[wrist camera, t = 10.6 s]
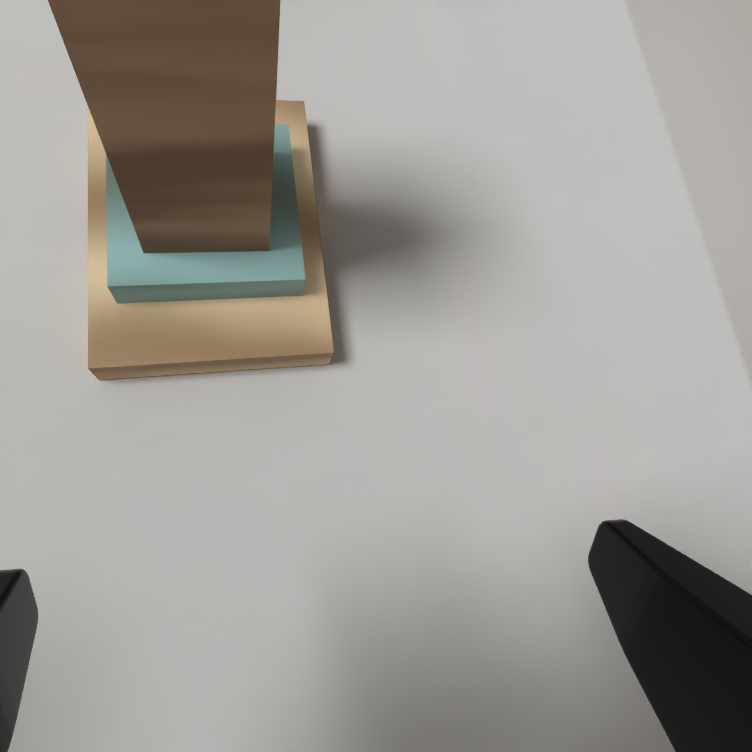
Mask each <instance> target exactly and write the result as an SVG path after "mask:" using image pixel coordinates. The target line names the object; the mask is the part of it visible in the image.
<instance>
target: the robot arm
mask: <svg viewBox="0 0 752 752" xmlns="http://www.w3.org/2000/svg"><path fill="white" fill-rule="evenodd" d="M588 563H589V568H590V571H591V574H592V576H593V578H594V581H595V583H596V586H597V588H598V591H599V593H600V596H601V598H602V601H603V603H604V605H605V608H606V610H607V613H608V615H609V618H610V620H611V623H612V625H613V628H614V630H615V632H616V635H617V637H618V640H619V642H620V644H621V646H622V649H623V651H624V653H625V655H626V657H627V659H628V661H629V663H630V665H631V667H632V669H633V671H634V673H635V675H636V677H637V679H638V681H639V683H640V685H641V686H642V688H643V690H644V692H645V694H646V696H647V698H648V700H649V702H650V704H651V706H652V708H653V709H654V711H655V713H656V715H657V717H658V719H659V721H660V723H661V725H662V727H663V729H664V730H665V732H666V734H667V736H668V738H669V740H670V742H671V744H672V746H673V748H674V750H675V751H676V752H752V595H751V594H749V593H748V592H746V591H744V590H743V589H741V588H739V587H738V586H736V585H734V584H733V583H731V582H729V581H728V580H726V579H724V578H723V577H721V576H719V575H718V574H716V573H714V572H713V571H711V570H709V569H707V568H706V567H704V566H702V565H701V564H699V563H697V562H696V561H694V560H692V559H691V558H689V557H687V556H686V555H684V554H682V553H681V552H679V551H677V550H676V549H674V548H672V547H671V546H669V545H667V544H666V543H664V542H662V541H661V540H659V539H657V538H656V537H654V536H652V535H651V534H649V533H647V532H646V531H644V530H642V529H641V528H639V527H637V526H636V525H634V524H632V523H631V522H629V521H627V520H622V519H620V520H607V521H603V522H602V523H601V524H600V525H599V527H598V529H597V532H596V535H595V538H594V541H593V544H592V546H591V549H590V552H589V557H588ZM37 623H38V608H37V604H36V601H35V597H34V594H33V590H32V587H31V583H30V579H29V576H28V574H27V572H26V571H25V570H23V569H12V570H0V752H8V749H9V746H10V743H11V739H12V736H13V732H14V728H15V724H16V719H17V715H18V711H19V706H20V701H21V697H22V692H23V688H24V683H25V679H26V674H27V670H28V665H29V660H30V656H31V651H32V647H33V642H34V638H35V633H36V629H37Z"/></svg>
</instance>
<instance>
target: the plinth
mask: <svg viewBox="0 0 752 752" xmlns="http://www.w3.org/2000/svg"><path fill="white" fill-rule="evenodd" d="M333 354H334V349H333V340H332V332H331V323H330V315H329V307H328V298H327V290H326V281H325V273H324V265H323V256H322V248H321V239H320V231H319V222H318V214H317V206H316V197H315V189H314V180H313V172H312V164H311V155H310V147H309V138H308V130H307V122H306V113H305V105H304V101H282V100H276V108H275V131H274V154H273V177H272V200H271V223H270V246H269V251H255V252H194V253H143V250H142V248H141V245H140V242H139V240H138V237H137V234H136V232H135V229H134V226H133V224H132V221H131V218H130V216H129V213H128V211H127V208H126V205H125V203H124V200H123V197H122V195H121V192H120V189H119V187H118V184H117V181H116V179H115V176H114V174H113V171H112V168H111V166H110V163H109V160H108V158H107V155H106V152H105V150H104V147H103V144H102V142H101V139H100V136H99V134H98V131H97V129H96V126H95V123H94V121H93V118H92V115H91V113H90V110H89V107H88V369H89V370H90V371H91V372H92V373H93V374H94V375H95V376H96V377H97V379H98V380H106V379H120V378H135V377H150V376H164V375H179V374H193V373H208V372H222V371H237V370H252V369H266V368H281V367H295V366H310V365H325V364H330V362H331V359H332V356H333Z"/></svg>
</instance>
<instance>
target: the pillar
mask: <svg viewBox="0 0 752 752" xmlns="http://www.w3.org/2000/svg"><path fill="white" fill-rule="evenodd" d="M48 1H49V4H50V7H51V9H52V12H53V15H54V17H55V20H56V23H57V25H58V28H59V31H60V33H61V36H62V39H63V41H64V44H65V46H66V49H67V52H68V54H69V57H70V60H71V62H72V65H73V68H74V70H75V73H76V76H77V78H78V81H79V84H80V86H81V89H82V91H83V94H84V97H85V99H86V102H87V105H88V107H89V110H90V113H91V115H92V118H93V121H94V123H95V126H96V129H97V131H98V134H99V136H100V139H101V142H102V144H103V147H104V150H105V152H106V155H107V158H108V160H109V163H110V166H111V168H112V171H113V174H114V176H115V179H116V181H117V184H118V187H119V189H120V192H121V195H122V197H123V200H124V203H125V205H126V208H127V211H128V213H129V216H130V218H131V221H132V224H133V226H134V229H135V232H136V234H137V237H138V240H139V242H140V245H141V248H142V250H143V253H194V252H255V251H269V246H270V223H271V200H272V177H273V154H274V131H275V108H276V86H277V63H278V40H279V17H280V0H48Z"/></svg>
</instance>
